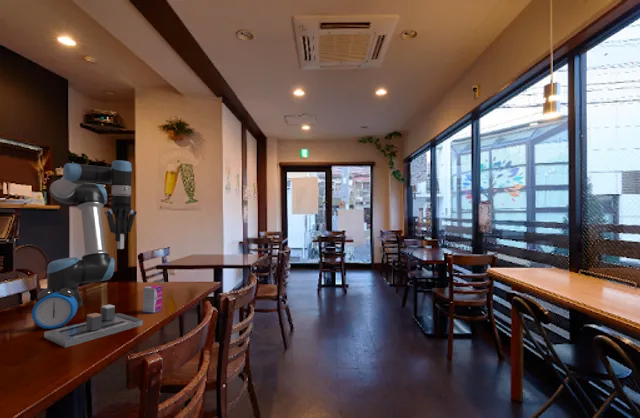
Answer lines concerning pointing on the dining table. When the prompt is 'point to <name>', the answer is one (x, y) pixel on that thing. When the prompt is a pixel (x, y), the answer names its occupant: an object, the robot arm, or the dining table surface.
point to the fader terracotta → (94, 321)
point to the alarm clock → (54, 308)
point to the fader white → (108, 312)
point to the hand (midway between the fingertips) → (120, 248)
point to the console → (82, 334)
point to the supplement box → (152, 299)
